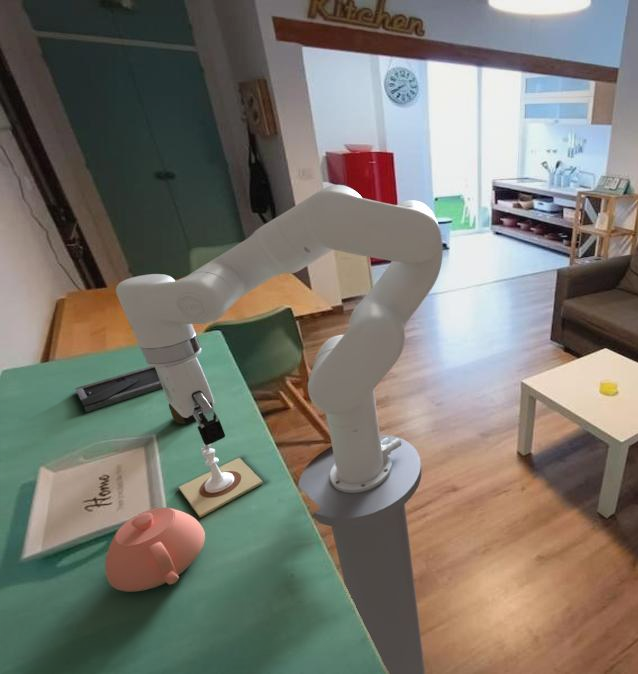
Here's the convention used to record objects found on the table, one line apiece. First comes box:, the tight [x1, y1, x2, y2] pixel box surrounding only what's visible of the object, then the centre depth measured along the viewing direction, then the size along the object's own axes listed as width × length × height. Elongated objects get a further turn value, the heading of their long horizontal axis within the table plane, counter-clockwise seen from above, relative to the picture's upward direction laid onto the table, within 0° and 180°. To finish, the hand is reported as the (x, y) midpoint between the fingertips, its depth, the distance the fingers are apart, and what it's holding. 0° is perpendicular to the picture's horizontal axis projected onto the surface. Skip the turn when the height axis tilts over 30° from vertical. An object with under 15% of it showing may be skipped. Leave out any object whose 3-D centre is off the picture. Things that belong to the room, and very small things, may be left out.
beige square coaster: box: [178, 457, 264, 519], centre depth 83 cm, size 11×11×1 cm
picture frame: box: [74, 366, 163, 413], centre depth 114 cm, size 13×2×18 cm
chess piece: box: [200, 443, 234, 493], centre depth 81 cm, size 5×5×10 cm
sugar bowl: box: [104, 507, 206, 593], centre depth 65 cm, size 12×14×10 cm
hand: (205, 430), depth 77 cm, fingers open, 9 cm apart
